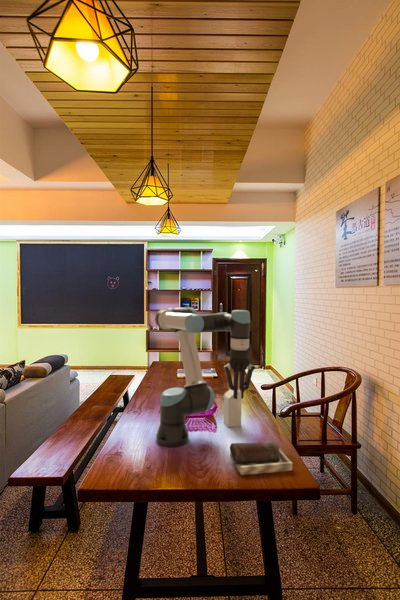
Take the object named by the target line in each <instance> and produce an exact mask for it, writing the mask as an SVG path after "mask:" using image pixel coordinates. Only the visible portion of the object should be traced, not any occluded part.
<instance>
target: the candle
mask: <svg viewBox="0 0 400 600" xmlns="http://www.w3.org/2000/svg"><path fill="white" fill-rule="evenodd" d="M279 449H280V450H281V448H280V445H279V443H277V442H236V443H235V442H234V443H233V442H232V443H231V444H230V446H229V452H230V451H231V455H232V457H233V459H232V461H233V463H234V464H235V463H249V462H272V461H279V460H280V458H279Z"/></svg>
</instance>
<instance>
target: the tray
mask: <svg viewBox="0 0 400 600" xmlns="http://www.w3.org/2000/svg"><path fill="white" fill-rule="evenodd" d="M229 453H230V454H229V455H230V458H231V459H232V460H233V457H232V455H231V451H230V450H229ZM279 458H280V460H279V461H272V462H249V463H234V465H235V467H236V469H237V471H238V473H239V474H240V476H248V475H249V476H250V475H259V474H268V473H269V474H271V473H279V472H291V471H293V462H292V461H291V459H290V458H289V457H288V456H287V455H286V454H285V453H284V451H282V449H281V448H280V449H279Z"/></svg>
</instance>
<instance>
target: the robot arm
mask: <svg viewBox="0 0 400 600" xmlns="http://www.w3.org/2000/svg"><path fill="white" fill-rule="evenodd" d="M154 322H155V325H156V326H157V327H158V328H159V329H162V330H165V331H168V330H169V331H174V335H175V336H177V337H178V342H179V343H178V344H179V346H180V347H179V349H180V355H181V360H182V366H183V372H184V377H185V384H184V386H183V387H179V386H178V387H170V388H167V389H165V390H164V391H163V392H162V393H161V395H160V401H159V404H160V406H159V407H160V408H159V409H160V410H159V412H160V413H159V414H160V416H159V417H160V419H159V422H160V424H159V427H158V429H157V432H156V436H155V440H156V443H157V444H158V445H160V446H163V447H168V448H176V447H177V448H178V447H181V446H184V445H185V444H187V443H188V442H189V439H190V438H189V431H188V428H187V425H186V417H187V416H191V415H192V416H193V415H197V414H201V413H203V414H204V413H205V412H208V411H211V409H213V406H214V403H215V393H214V389H212V387H211V386H208V382H207V381H205V380H204V377H203V372H202V367H201V361H200V360H201V359H200V357H199V351H198V345H197V340H196V334H198V333H212V332H228V333H230V351H229V353H230V354H229V355H230V356H229V361H228V363H227V364H226V365H225V364H224V365H223V367H222V368H223V369H224V371H225V375H226V379H227V384H228V388H229V389H231V390H234V394H233V397H234V398H235V399H236V404H235V405H236V407H237V408H241V409H242V399H244V393H245V390H248V389H249V387H250V384H251V379H252V375H253V372H254V371H255V369H256V366H255V365H253V364H251V363H250V350H249V348H250V332H251V331H250V330H251V329H250V327H251V312H250V311H249V310H246V309H233V310H232V311H231V313H227V312H224V311H223V312H217V313H198V312H197V310H196V309H195V308H193V307H187V306H183V307H182V306H181V307H180V306H179V307H163V308H161V309H159V310H158V311H157V312H156V314H155V316H154ZM231 369H232V370H233V371H232V372H233V377H232V374H231V371H230V370H231ZM246 370H247V372H246ZM245 374H246V376H245ZM232 378H233V380H232Z"/></svg>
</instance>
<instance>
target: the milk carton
mask: <svg viewBox="0 0 400 600" xmlns="http://www.w3.org/2000/svg"><path fill="white" fill-rule="evenodd" d="M233 394H234V390H231V389H230V388H229V390H227V391H226V392H225V393H224V394H223V396H224V398H223V423H224V424H225V425H226V427H228V428H235V427H241V426H242V407H241V408H237V407H236V405H235V404H236V399H235V398H234V397H233Z"/></svg>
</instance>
